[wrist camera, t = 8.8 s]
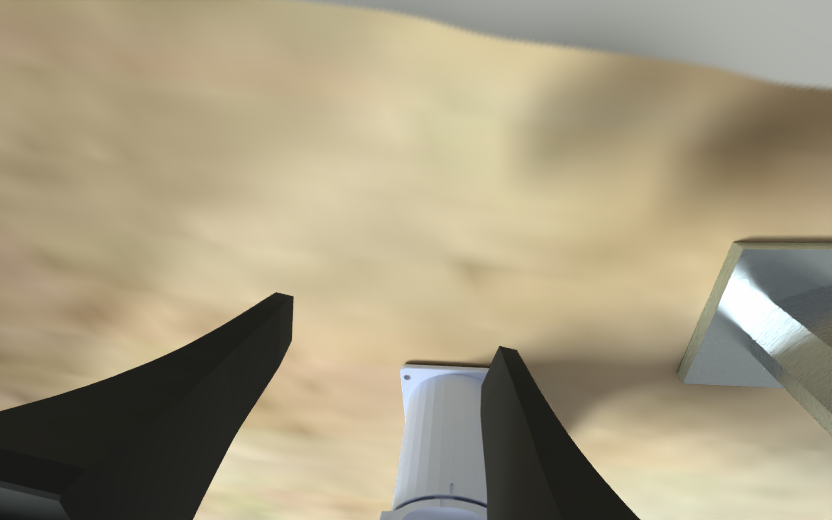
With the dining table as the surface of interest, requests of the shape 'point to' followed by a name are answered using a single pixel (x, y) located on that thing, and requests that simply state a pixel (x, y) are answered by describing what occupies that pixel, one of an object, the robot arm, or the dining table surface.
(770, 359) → the collar
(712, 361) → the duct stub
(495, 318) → the dining table surface
